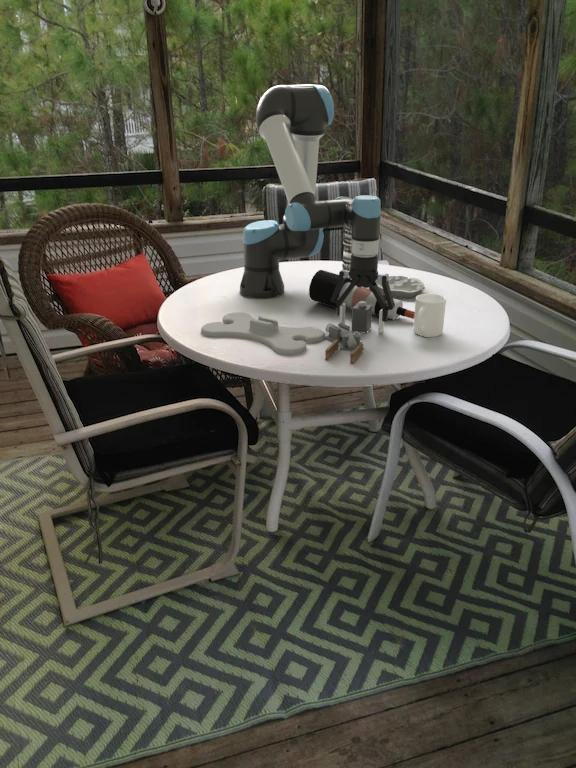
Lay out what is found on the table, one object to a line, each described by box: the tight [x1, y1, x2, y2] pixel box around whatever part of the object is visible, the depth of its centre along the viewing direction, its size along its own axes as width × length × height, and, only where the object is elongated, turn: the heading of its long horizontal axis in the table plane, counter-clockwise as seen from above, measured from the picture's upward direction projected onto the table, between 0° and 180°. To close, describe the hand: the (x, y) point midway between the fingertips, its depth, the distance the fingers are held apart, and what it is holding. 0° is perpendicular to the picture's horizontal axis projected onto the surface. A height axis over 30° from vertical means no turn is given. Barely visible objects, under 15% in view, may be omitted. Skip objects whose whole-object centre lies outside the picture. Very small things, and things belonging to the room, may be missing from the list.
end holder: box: [324, 339, 364, 365], centre depth 172 cm, size 8×8×3 cm
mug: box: [413, 293, 447, 338], centre depth 185 cm, size 12×8×10 cm
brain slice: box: [375, 275, 426, 300], centre depth 224 cm, size 20×17×3 cm
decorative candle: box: [341, 226, 353, 279], centre depth 237 cm, size 9×9×25 cm
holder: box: [200, 312, 326, 356], centre depth 187 cm, size 19×34×5 cm, turn 57°
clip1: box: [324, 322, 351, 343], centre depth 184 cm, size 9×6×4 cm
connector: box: [351, 301, 373, 334], centre depth 189 cm, size 4×4×8 cm
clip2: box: [338, 331, 364, 351], centre depth 178 cm, size 5×6×4 cm
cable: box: [308, 269, 415, 321], centre depth 203 cm, size 10×34×10 cm, turn 56°
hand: (361, 328), depth 191 cm, fingers open, 11 cm apart
